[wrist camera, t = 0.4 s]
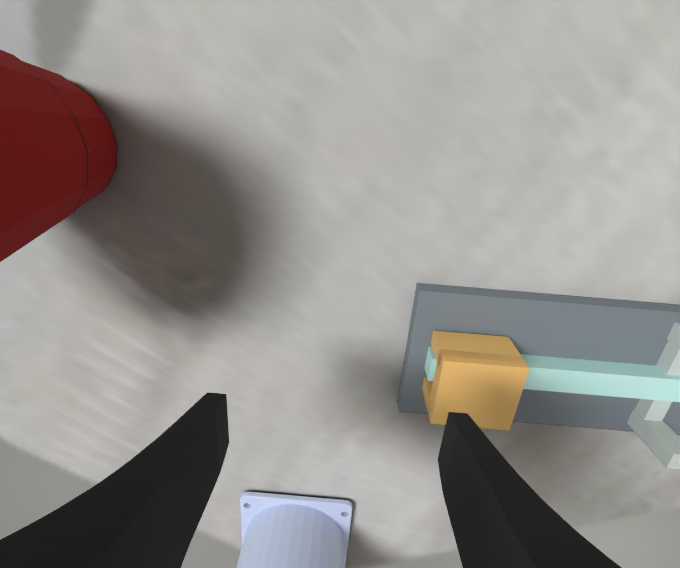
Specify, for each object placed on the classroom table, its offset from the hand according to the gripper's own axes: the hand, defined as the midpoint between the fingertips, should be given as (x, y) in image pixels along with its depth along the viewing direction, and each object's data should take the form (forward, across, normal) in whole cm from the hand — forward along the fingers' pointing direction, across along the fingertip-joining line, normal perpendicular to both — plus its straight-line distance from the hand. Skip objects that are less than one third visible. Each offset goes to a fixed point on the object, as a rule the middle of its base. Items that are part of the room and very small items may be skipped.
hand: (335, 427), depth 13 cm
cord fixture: (+10, -14, +3) cm, 17 cm away
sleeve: (+8, -7, +3) cm, 11 cm away
